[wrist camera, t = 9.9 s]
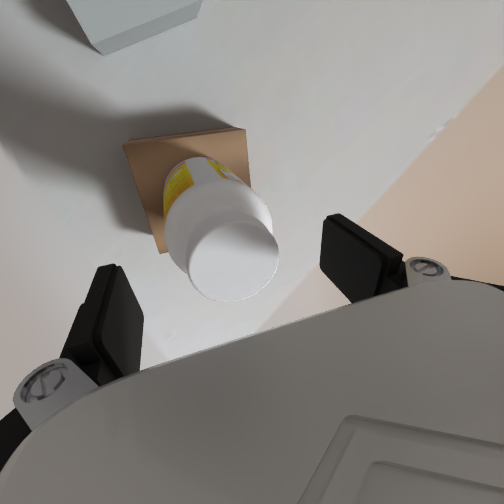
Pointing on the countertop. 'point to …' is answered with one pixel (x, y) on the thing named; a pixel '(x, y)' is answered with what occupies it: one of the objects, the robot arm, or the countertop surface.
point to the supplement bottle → (218, 230)
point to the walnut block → (174, 152)
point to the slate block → (129, 19)
